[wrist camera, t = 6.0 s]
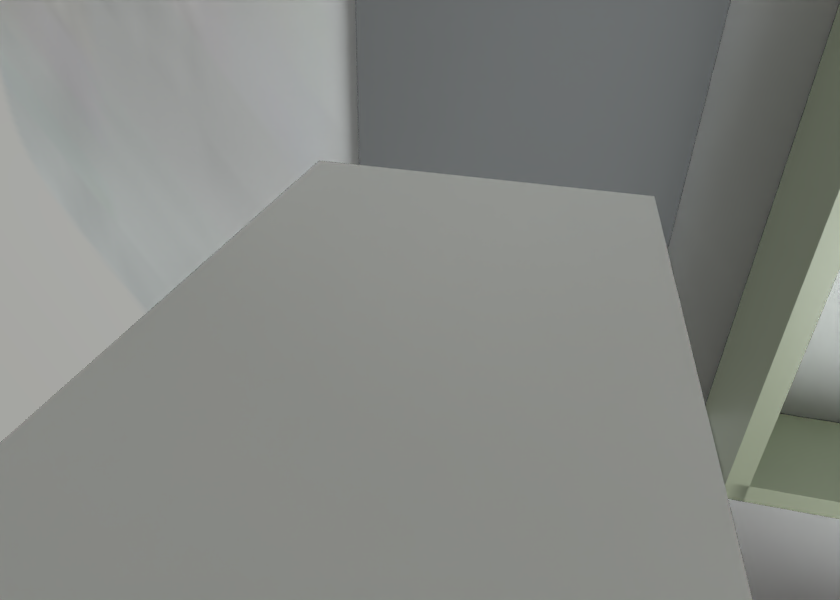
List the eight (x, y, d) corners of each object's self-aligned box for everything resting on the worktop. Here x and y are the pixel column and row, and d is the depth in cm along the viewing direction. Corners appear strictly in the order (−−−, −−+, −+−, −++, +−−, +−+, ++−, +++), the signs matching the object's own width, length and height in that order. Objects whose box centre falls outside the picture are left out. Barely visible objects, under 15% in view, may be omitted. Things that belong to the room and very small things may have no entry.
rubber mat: (629, 390, 21) (630, 397, 21) (366, 348, 22) (363, 355, 22) (731, -17, 15) (734, -15, 14) (359, -34, 16) (354, -33, 16)
